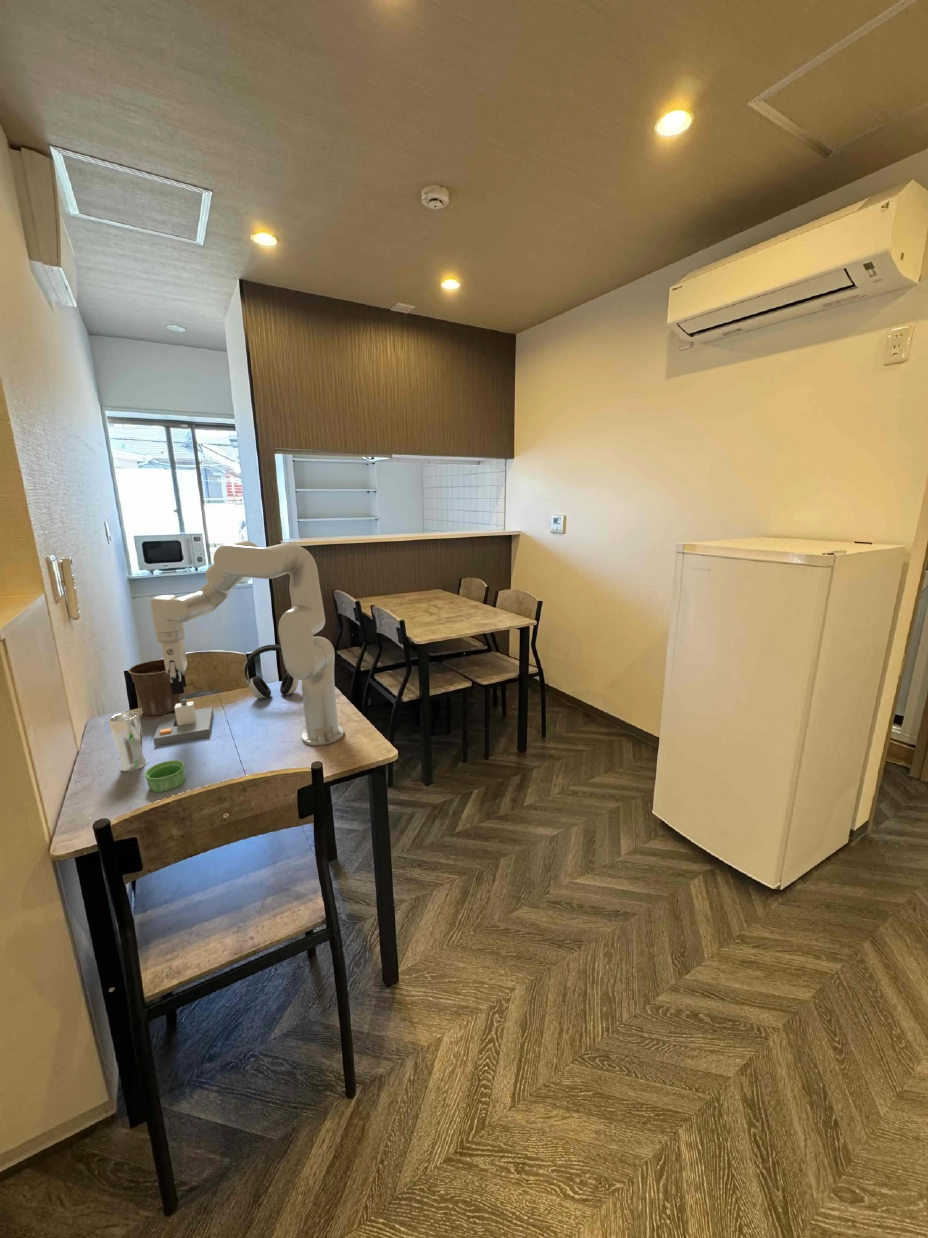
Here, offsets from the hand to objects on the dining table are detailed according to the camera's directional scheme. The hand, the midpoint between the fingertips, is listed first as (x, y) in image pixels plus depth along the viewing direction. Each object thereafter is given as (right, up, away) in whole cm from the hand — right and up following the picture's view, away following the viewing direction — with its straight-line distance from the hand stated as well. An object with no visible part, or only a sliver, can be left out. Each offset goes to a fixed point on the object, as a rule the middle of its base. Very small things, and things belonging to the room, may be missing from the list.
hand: (179, 690), depth 158 cm
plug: (+1, -13, +3) cm, 13 cm away
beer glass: (-2, -19, -19) cm, 27 cm away
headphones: (+20, -7, +28) cm, 35 cm away
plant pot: (-16, -10, +19) cm, 27 cm away
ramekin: (+13, -21, -27) cm, 37 cm away
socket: (0, -13, +3) cm, 13 cm away
